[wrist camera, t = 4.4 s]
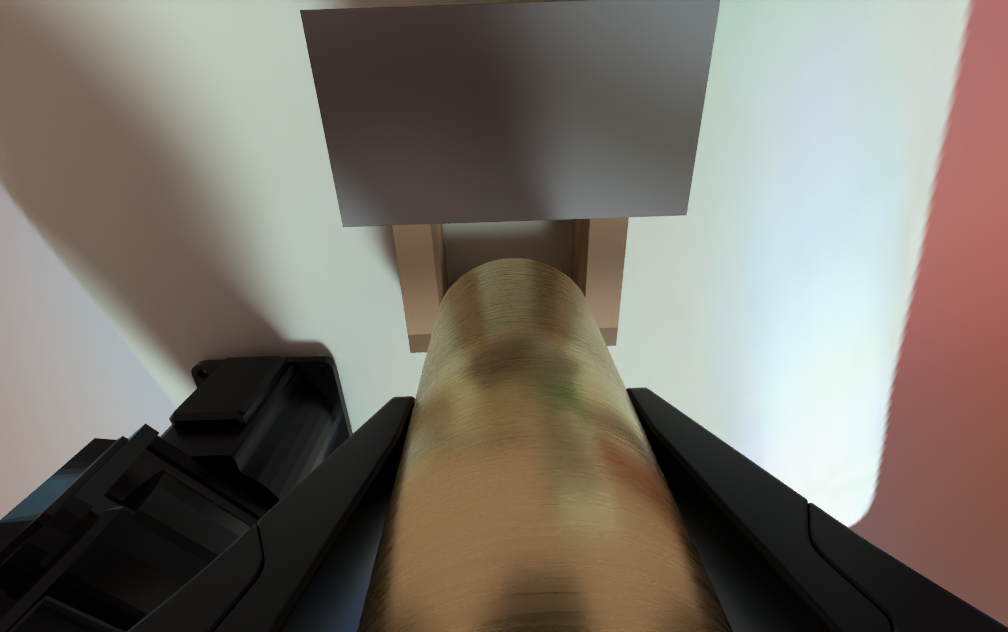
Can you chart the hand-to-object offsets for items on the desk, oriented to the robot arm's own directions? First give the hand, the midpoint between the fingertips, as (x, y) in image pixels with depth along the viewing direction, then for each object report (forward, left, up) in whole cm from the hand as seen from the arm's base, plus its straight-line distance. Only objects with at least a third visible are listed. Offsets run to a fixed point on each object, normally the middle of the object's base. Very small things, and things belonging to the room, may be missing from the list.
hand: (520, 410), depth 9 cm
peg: (0, 0, -3) cm, 3 cm away
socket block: (+2, 0, -11) cm, 11 cm away
